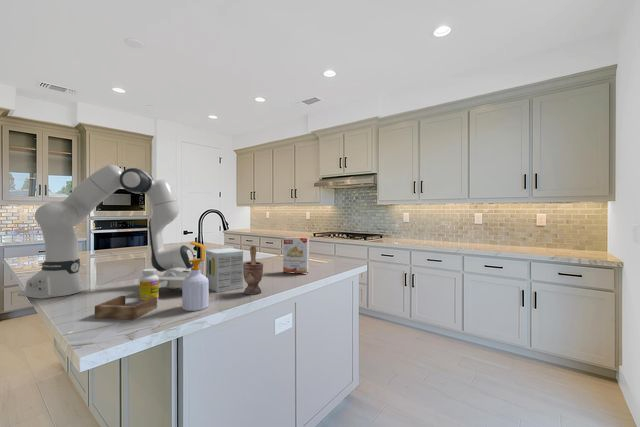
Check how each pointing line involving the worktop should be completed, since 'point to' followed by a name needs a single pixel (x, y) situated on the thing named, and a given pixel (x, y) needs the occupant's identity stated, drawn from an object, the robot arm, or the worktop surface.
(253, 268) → the mortar and pestle
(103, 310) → the corral
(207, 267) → the supplement box
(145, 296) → the supplement bottle
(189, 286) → the soap bottle
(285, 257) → the cracker box
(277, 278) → the worktop surface
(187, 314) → the worktop surface
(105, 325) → the worktop surface
